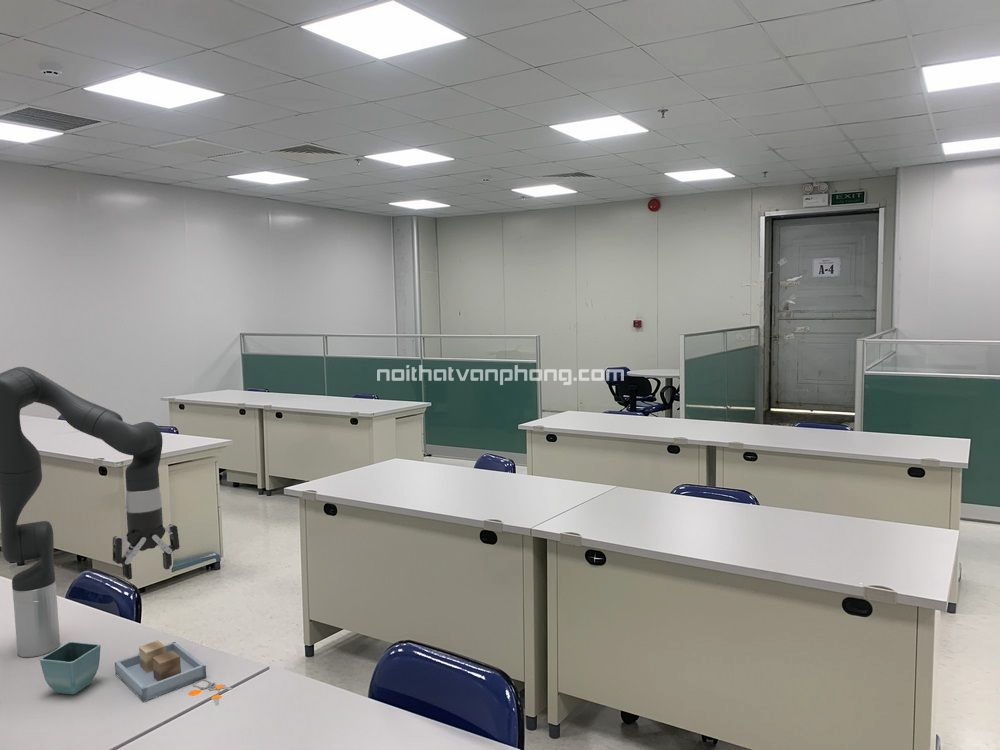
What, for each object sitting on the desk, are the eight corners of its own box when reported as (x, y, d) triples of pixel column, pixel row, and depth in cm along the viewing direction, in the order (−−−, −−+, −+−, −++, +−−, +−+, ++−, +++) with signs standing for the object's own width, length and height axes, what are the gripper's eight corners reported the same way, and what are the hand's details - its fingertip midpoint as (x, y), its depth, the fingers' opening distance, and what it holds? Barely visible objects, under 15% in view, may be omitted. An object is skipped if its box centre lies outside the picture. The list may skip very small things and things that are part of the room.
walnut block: (161, 684, 159) (159, 663, 159) (153, 677, 162) (152, 657, 162) (181, 677, 163) (180, 656, 162) (173, 670, 166) (172, 650, 165)
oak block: (147, 673, 165) (145, 652, 164) (140, 666, 168) (138, 646, 167) (166, 665, 168) (165, 646, 167) (159, 659, 171) (158, 640, 171)
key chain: (178, 693, 158) (178, 689, 158) (207, 678, 164) (206, 675, 164) (215, 708, 152) (214, 705, 151) (243, 692, 158) (242, 689, 158)
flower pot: (74, 701, 155) (71, 662, 154) (41, 697, 157) (38, 659, 156) (104, 680, 163) (101, 644, 163) (72, 677, 165) (69, 641, 164)
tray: (115, 674, 166) (114, 662, 166) (175, 653, 176) (174, 641, 176) (143, 702, 154) (142, 689, 154) (206, 677, 164) (205, 665, 164)
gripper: (117, 516, 157) (121, 586, 158) (181, 503, 167) (185, 569, 168) (105, 510, 162) (110, 578, 163) (168, 498, 172) (172, 561, 174)
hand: (148, 573), depth 166 cm, fingers open, 8 cm apart
